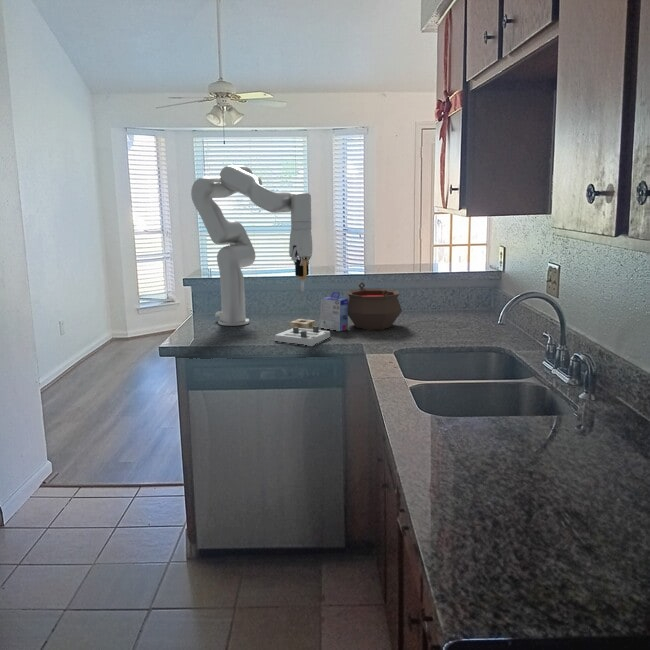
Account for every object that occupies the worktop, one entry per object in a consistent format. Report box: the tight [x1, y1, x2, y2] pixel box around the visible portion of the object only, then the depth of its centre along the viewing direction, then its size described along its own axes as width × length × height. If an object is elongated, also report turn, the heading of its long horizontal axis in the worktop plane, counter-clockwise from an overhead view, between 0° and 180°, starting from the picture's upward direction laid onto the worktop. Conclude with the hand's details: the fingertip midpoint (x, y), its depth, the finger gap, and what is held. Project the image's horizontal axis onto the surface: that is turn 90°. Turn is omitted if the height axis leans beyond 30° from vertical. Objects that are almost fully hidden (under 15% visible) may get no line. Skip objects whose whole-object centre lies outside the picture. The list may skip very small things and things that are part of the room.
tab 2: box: [298, 331, 309, 338], centre depth 232 cm, size 4×2×3 cm, turn 62°
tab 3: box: [310, 325, 321, 333], centre depth 240 cm, size 4×2×3 cm, turn 62°
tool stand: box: [289, 318, 316, 330], centre depth 251 cm, size 7×7×4 cm
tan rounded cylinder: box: [297, 259, 308, 292], centre depth 247 cm, size 3×3×12 cm
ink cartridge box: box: [319, 291, 349, 332], centre depth 254 cm, size 10×6×14 cm, turn 53°
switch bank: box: [274, 328, 331, 347], centre depth 238 cm, size 15×14×3 cm
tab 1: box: [290, 327, 301, 334], centre depth 239 cm, size 4×2×3 cm, turn 62°
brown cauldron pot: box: [346, 281, 403, 330], centre depth 259 cm, size 24×24×16 cm
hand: (302, 275), depth 247 cm, fingers closed on tan rounded cylinder, 3 cm apart
